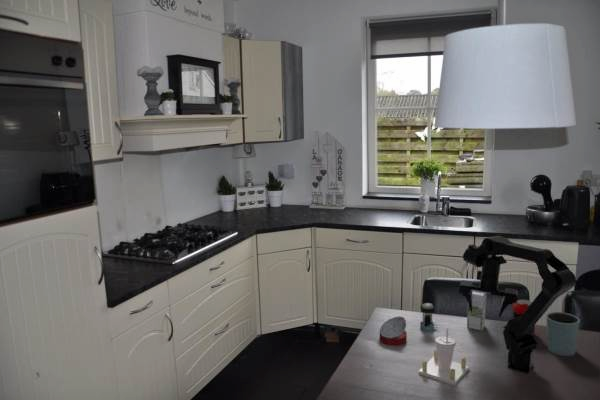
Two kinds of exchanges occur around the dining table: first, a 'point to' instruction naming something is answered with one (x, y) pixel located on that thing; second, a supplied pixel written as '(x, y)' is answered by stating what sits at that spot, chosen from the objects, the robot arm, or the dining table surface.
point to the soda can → (521, 309)
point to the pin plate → (446, 376)
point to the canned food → (394, 332)
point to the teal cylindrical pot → (562, 333)
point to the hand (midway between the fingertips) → (485, 313)
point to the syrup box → (477, 312)
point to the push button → (427, 317)
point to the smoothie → (445, 351)
